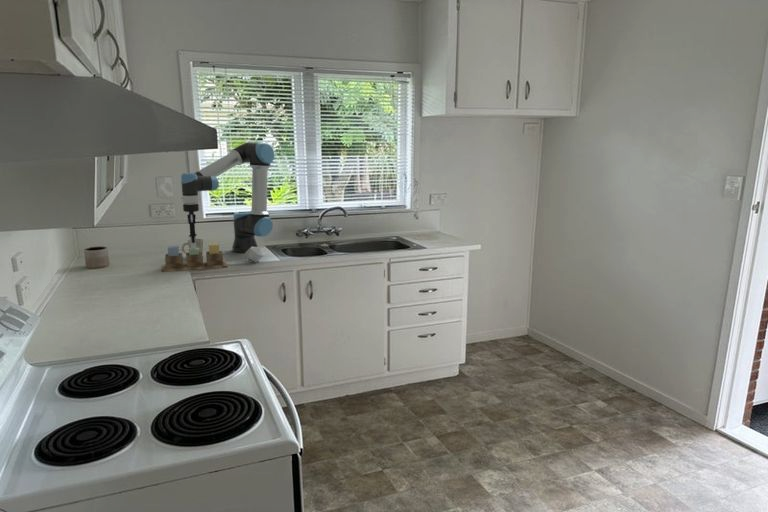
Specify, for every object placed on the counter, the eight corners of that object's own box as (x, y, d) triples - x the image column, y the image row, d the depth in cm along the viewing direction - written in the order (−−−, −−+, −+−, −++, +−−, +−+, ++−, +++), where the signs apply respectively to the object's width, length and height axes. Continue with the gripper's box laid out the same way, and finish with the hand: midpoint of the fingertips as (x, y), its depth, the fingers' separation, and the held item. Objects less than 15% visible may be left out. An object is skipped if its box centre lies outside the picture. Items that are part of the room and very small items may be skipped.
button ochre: (219, 255, 275) (218, 243, 274) (219, 257, 271) (218, 244, 269) (209, 256, 273) (208, 243, 272) (209, 258, 269) (208, 245, 267)
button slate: (179, 258, 268) (178, 245, 267) (179, 260, 264) (178, 247, 262) (169, 258, 267) (168, 245, 265) (168, 261, 262) (167, 247, 260)
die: (266, 261, 285) (261, 246, 288) (261, 257, 276) (256, 241, 279) (252, 267, 285) (247, 251, 288) (246, 263, 276) (241, 246, 279)
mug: (201, 259, 286) (200, 241, 284) (179, 258, 286) (177, 241, 284) (206, 256, 294) (205, 239, 292) (184, 255, 294) (183, 238, 292)
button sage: (199, 260, 272) (198, 247, 271) (199, 262, 268) (199, 249, 266) (189, 261, 270) (188, 248, 269) (189, 263, 266) (188, 250, 264)
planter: (81, 267, 266) (79, 249, 263) (101, 262, 275) (99, 245, 273) (94, 269, 261) (92, 251, 258) (114, 265, 270) (112, 247, 268)
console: (225, 261, 281) (225, 249, 279) (227, 267, 269) (226, 254, 268) (163, 265, 270) (161, 253, 268) (161, 271, 258) (160, 258, 257)
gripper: (183, 202, 267) (186, 246, 272) (182, 205, 255) (185, 251, 260) (198, 201, 269) (201, 245, 274) (198, 204, 257) (201, 250, 263)
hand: (193, 248), depth 267 cm, fingers closed
